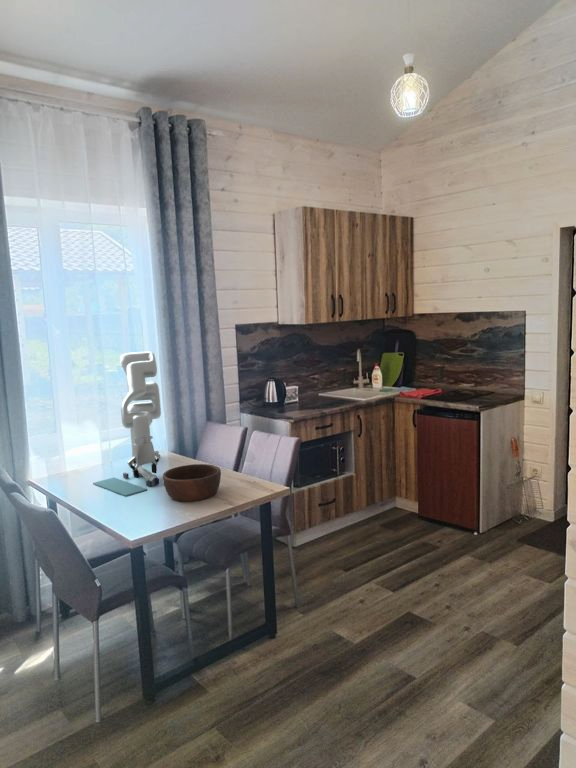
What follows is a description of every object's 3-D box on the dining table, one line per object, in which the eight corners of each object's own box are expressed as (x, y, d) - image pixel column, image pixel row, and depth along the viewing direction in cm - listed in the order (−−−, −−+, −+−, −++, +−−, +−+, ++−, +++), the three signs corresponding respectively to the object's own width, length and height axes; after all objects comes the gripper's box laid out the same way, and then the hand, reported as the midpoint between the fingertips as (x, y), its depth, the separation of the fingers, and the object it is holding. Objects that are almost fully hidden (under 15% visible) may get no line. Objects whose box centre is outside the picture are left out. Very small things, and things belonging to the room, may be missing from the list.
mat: (114, 478, 285) (114, 477, 285) (147, 490, 264) (147, 488, 264) (93, 484, 278) (92, 482, 278) (125, 496, 256) (125, 495, 256)
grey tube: (150, 478, 268) (129, 461, 288) (151, 492, 270) (130, 473, 289) (160, 476, 271) (140, 458, 291) (161, 489, 273) (140, 471, 292)
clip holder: (142, 472, 293) (141, 468, 292) (169, 481, 276) (168, 476, 276) (123, 477, 285) (122, 473, 285) (150, 487, 269) (149, 481, 268)
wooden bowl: (214, 482, 271) (212, 461, 270) (228, 498, 248) (227, 474, 247) (160, 491, 263) (158, 468, 261) (169, 508, 239) (167, 484, 238)
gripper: (154, 435, 287) (156, 469, 289) (122, 442, 275) (125, 478, 277) (162, 437, 281) (165, 472, 284) (130, 444, 269) (133, 480, 271)
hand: (145, 475), depth 280 cm, fingers open, 9 cm apart
